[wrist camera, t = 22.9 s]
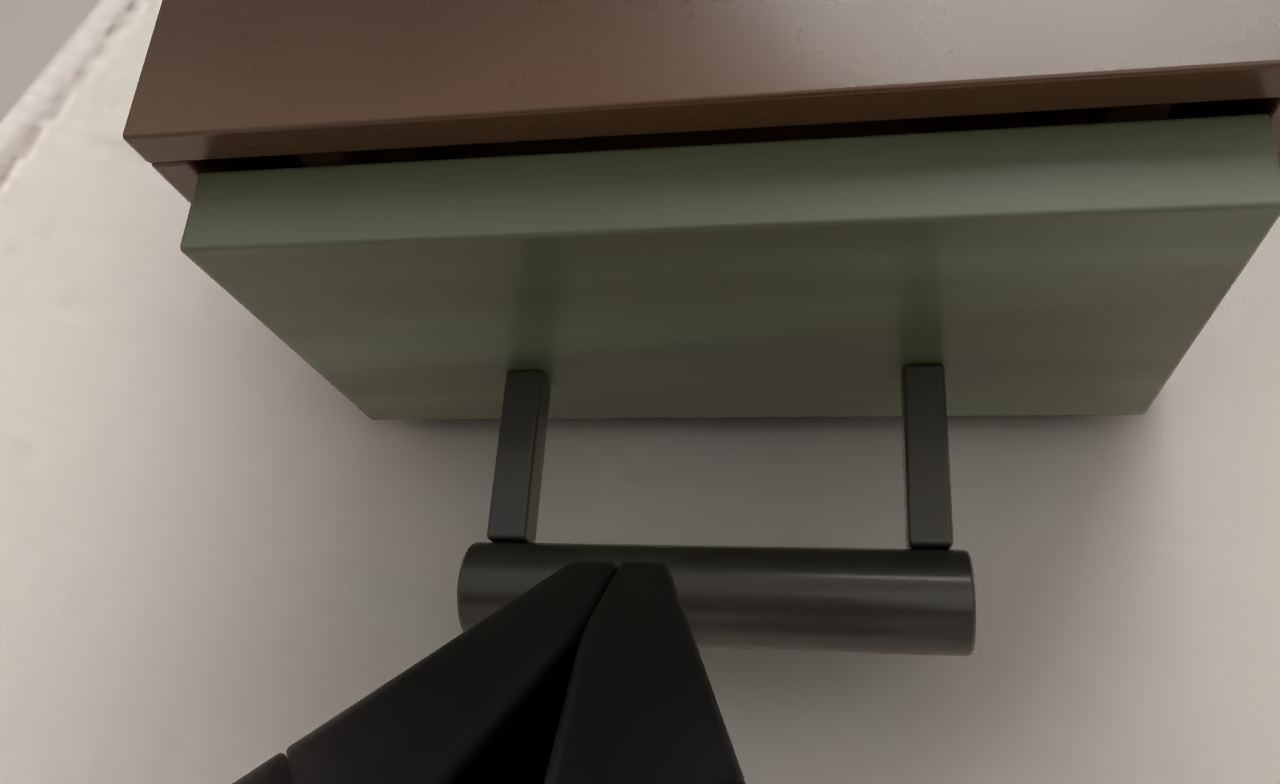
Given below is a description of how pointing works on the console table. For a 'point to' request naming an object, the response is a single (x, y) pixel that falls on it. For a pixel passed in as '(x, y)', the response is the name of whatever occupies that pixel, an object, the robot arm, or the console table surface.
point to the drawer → (755, 311)
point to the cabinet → (662, 69)
